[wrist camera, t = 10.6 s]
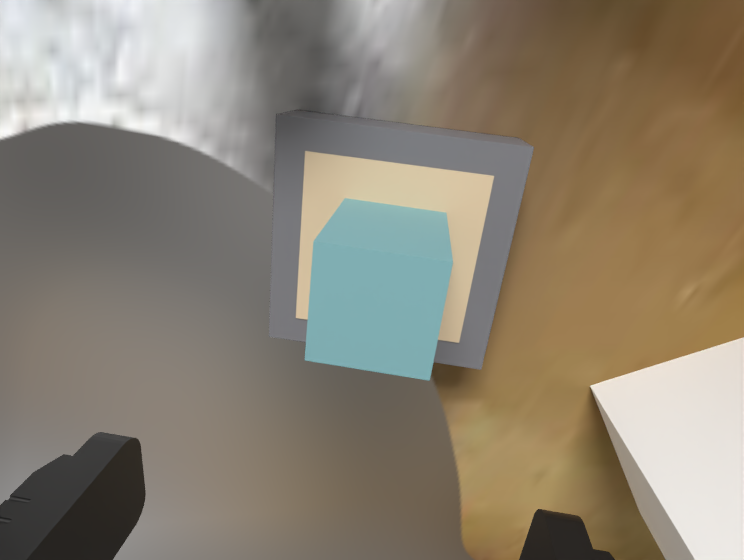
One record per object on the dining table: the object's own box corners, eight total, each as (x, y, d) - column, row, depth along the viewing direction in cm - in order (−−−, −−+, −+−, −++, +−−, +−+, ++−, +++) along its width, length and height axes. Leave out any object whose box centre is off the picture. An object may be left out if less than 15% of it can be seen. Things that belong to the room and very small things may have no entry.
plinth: (518, 137, 25) (534, 147, 22) (474, 334, 30) (481, 370, 26) (297, 109, 26) (275, 114, 22) (288, 306, 31) (268, 337, 27)
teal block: (446, 212, 23) (452, 262, 17) (429, 304, 25) (429, 380, 19) (344, 197, 24) (313, 241, 17) (336, 290, 25) (304, 360, 19)
